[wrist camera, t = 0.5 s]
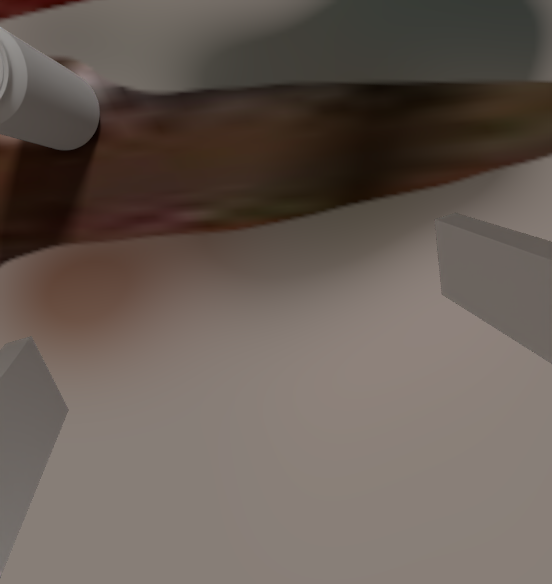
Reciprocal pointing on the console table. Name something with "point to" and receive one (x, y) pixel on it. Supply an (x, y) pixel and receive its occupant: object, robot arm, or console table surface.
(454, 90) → the console table surface
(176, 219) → the console table surface
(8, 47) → the beverage can
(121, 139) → the console table surface
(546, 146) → the console table surface
